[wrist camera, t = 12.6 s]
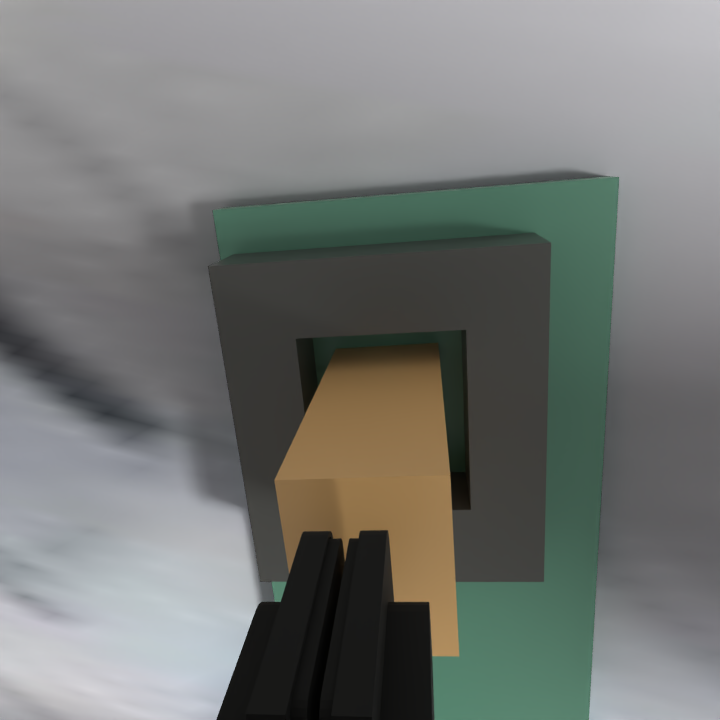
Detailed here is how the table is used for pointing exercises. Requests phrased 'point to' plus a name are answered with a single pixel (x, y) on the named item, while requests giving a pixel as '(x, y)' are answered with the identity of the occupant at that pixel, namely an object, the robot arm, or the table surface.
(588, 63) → the table surface
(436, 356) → the plug
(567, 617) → the header board
